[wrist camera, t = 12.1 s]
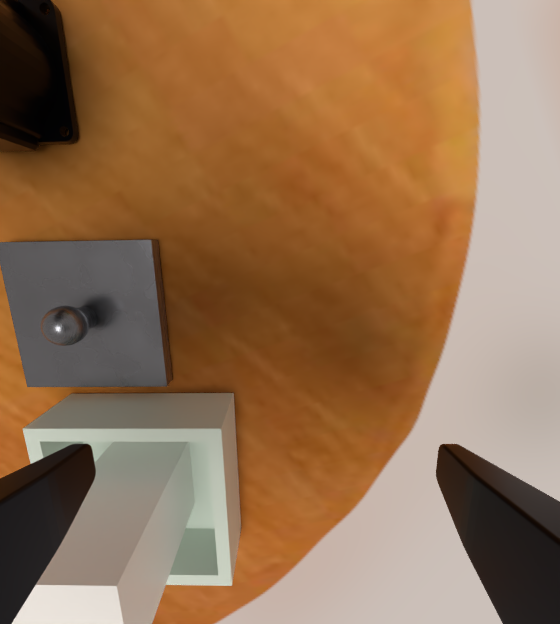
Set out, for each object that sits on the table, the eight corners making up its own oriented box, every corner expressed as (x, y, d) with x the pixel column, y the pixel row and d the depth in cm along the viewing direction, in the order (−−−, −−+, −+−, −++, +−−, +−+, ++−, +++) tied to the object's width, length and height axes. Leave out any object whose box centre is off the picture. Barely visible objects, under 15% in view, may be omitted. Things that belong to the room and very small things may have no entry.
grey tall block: (124, 502, 22) (17, 674, 13) (114, 439, 21) (-10, 584, 12) (194, 502, 22) (132, 677, 13) (188, 439, 21) (116, 585, 12)
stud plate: (10, 242, 19) (-57, 243, 15) (158, 239, 19) (126, 240, 15) (39, 380, 21) (-14, 410, 17) (172, 379, 21) (147, 410, 17)
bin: (71, 393, 21) (22, 428, 17) (233, 393, 21) (221, 428, 17) (96, 526, 24) (58, 583, 20) (241, 527, 23) (231, 585, 20)
